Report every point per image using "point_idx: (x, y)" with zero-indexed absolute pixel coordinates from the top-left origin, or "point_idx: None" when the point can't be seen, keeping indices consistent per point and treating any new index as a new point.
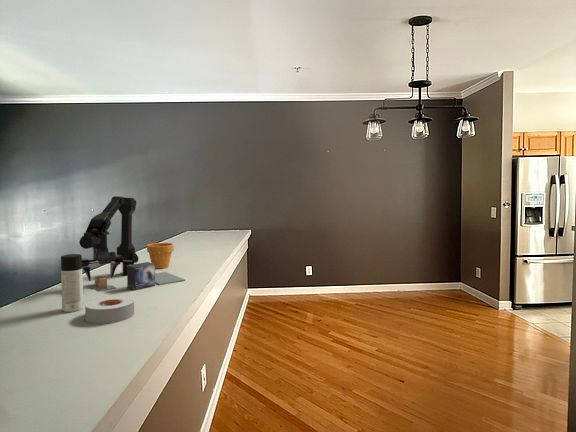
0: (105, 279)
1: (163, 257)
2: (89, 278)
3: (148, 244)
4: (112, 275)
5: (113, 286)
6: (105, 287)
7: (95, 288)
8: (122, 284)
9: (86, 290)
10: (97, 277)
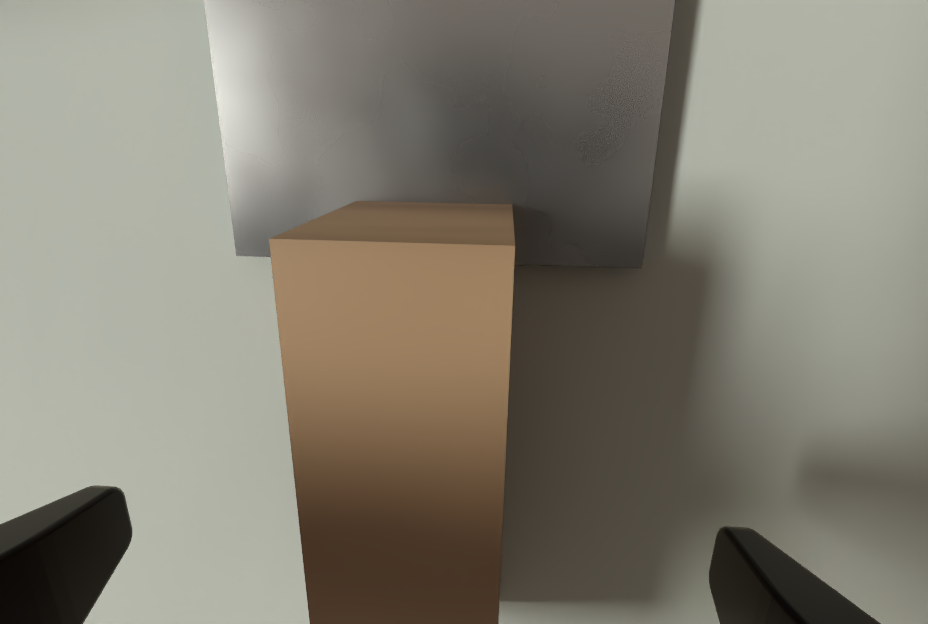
0: (335, 236)
1: None
2: (814, 583)
3: None
4: (24, 526)
5: (225, 39)
6: (430, 78)
7: (643, 214)
8: (9, 228)
9: (860, 217)
10: (490, 620)
